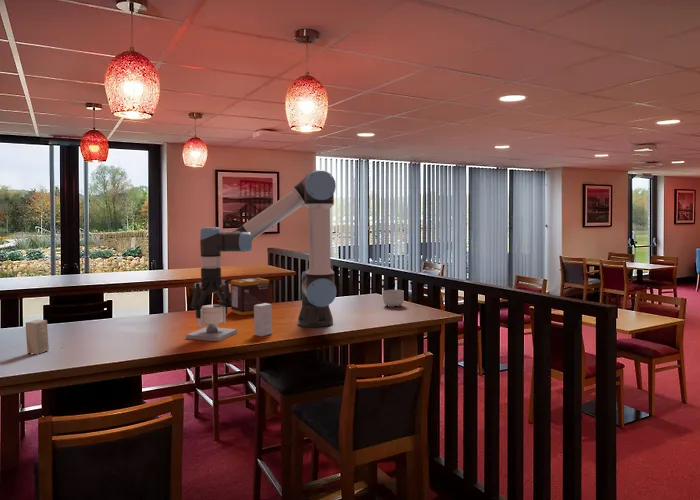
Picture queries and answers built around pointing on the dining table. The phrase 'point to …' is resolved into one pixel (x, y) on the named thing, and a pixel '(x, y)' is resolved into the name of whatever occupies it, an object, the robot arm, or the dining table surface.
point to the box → (37, 336)
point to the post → (211, 328)
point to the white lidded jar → (212, 314)
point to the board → (211, 334)
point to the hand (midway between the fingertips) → (212, 324)
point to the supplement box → (248, 294)
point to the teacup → (393, 297)
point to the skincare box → (263, 319)
